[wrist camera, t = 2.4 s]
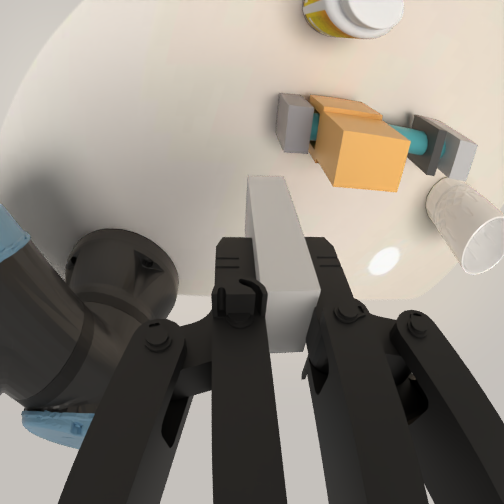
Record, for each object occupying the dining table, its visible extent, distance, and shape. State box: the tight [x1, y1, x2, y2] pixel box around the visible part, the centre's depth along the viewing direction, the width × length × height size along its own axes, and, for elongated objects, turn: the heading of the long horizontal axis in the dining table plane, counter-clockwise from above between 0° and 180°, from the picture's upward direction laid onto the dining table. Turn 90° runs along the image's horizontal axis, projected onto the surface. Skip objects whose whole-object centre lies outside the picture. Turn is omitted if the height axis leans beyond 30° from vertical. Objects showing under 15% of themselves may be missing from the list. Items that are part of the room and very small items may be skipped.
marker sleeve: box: [308, 95, 411, 192], centre depth 24 cm, size 5×5×10 cm
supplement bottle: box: [303, 0, 404, 39], centre depth 18 cm, size 6×6×10 cm
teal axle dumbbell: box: [276, 93, 478, 181], centre depth 26 cm, size 18×5×7 cm, turn 87°
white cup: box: [426, 177, 504, 275], centre depth 31 cm, size 8×8×10 cm
